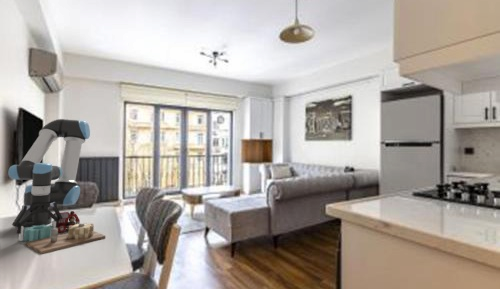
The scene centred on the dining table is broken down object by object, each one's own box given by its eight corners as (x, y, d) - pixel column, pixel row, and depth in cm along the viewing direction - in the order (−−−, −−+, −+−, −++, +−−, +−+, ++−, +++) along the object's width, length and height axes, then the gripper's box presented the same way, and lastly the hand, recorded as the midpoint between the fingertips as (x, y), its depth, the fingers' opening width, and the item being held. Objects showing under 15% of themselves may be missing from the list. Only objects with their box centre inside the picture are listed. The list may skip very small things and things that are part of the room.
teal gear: (19, 238, 133) (20, 228, 133) (45, 233, 142) (46, 223, 142) (28, 243, 127) (29, 232, 127) (55, 237, 136) (56, 227, 136)
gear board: (25, 244, 125) (26, 229, 125) (88, 231, 149) (89, 218, 149) (41, 253, 116) (42, 237, 116) (105, 238, 140) (106, 224, 140)
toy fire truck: (80, 230, 150) (81, 211, 150) (53, 234, 141) (54, 214, 141) (77, 227, 155) (78, 209, 155) (51, 231, 146) (52, 211, 146)
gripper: (11, 197, 123) (7, 245, 122) (71, 192, 144) (68, 232, 143) (5, 195, 127) (2, 241, 126) (65, 191, 148) (62, 230, 147)
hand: (37, 237), depth 134 cm, fingers open, 13 cm apart
